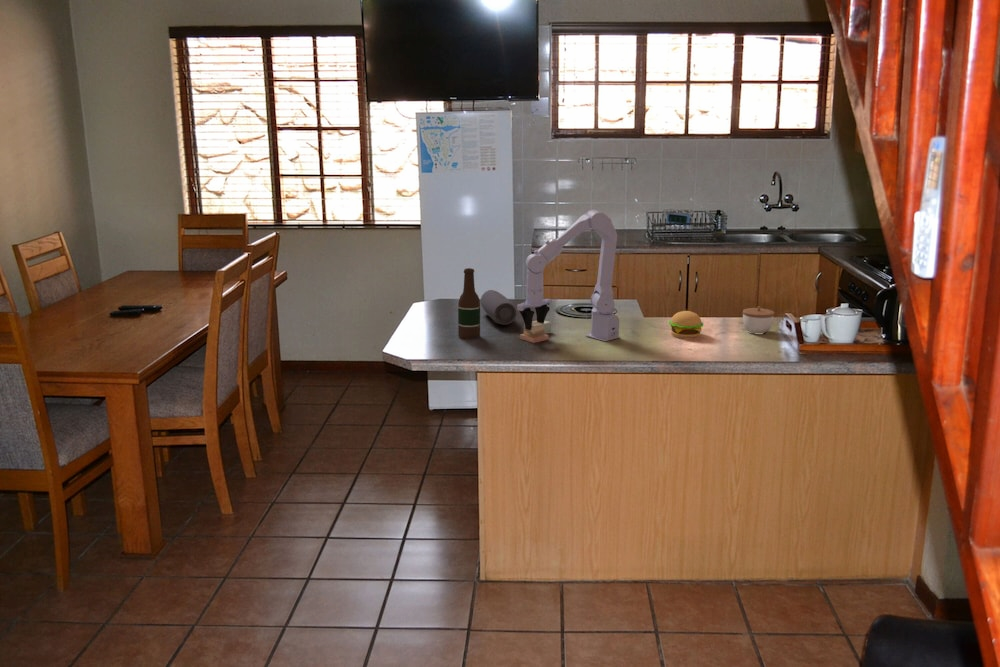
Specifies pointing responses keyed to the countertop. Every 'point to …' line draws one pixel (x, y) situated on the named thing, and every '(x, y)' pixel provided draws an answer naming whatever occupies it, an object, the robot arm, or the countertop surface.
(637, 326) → the countertop surface
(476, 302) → the beer bottle
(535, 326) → the maple block
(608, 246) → the robot arm
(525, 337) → the plinth
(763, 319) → the lidded jar
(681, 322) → the hamburger
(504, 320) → the bluetooth speaker
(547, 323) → the sage block
